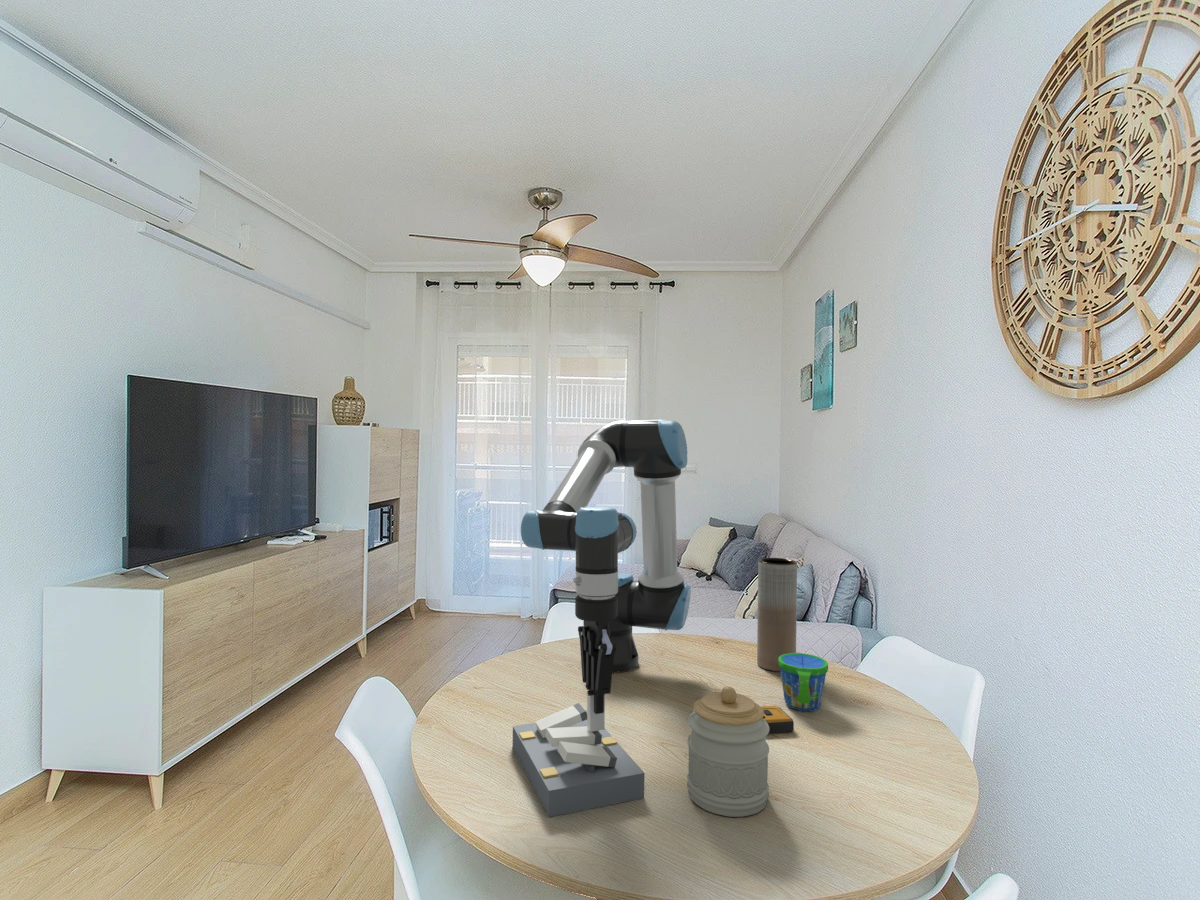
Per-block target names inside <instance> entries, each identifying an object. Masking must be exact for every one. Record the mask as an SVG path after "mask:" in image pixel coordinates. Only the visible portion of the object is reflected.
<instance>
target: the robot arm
mask: <svg viewBox="0 0 1200 900" xmlns="http://www.w3.org/2000/svg"><path fill="white" fill-rule="evenodd" d="M687 465H688V444H687V438H686V435H685V431H684V428H683V427H682V425H681V423H679V422H678V421H676V420H667V419H647V420H646V419H639V420H638V419H637V420H636V419H633V420H627V419H621V420H616V421H612V422H609V423H607V424H605V425H603V426H601V427H599V428H598V429H596V430H595V431H593V432H592V433H591V434H590V435H588V436H587V437H586V438H585V439H584V440H583V442H582V443H581V444H580V446H579V448H578V450H577V458H576V459H575V461H574V463H573V465H572V466H571V467H570V469H569V470H568V472H567V474H566V475H565V476H564V478H563V479H562V481H561V482H560V484H559V486H557V488H556V490H555V491H554V493H553V494H552V496H551V497H550V499H549V500H548V502H547V503H546V504H545V506H544V508H543V509H542V510H539V509H536V510H529V511H526V513H524V515H523V517H522V520H521V523H520V535H521V541H522V543H523V544H524V545H525V546H526V547H527V548H532V549H540V550H544V551H545V550H550V551H552V550H554V551H571V552H572V551H573V552H575V577H573V578H572V581H573V583H574V584H575V593H576V594H577V595H576V596H575V601H574V603H575V605H574V609H575V610H574V613H575V614H574V615H575V617H576V618H577V619H579V620H580V621H583V625H581V626H580V625H579V626H578V627H577V631H578V636H579V649H580V663H581V677H582V678H581V679H582V683H583V684H584V683H585V688H586V690H587V691H586V703H587V705H586V711H587V729H588V730H589V731H590V732H593V731H599V730H605V729H606V728H605V727H606V726H605V724H606V723H605V722H606V720H605V718H606V717H605V716H606V714H605V711H606V710H605V708H606V707H605V706H606V705H605V704H606V703H605V702H606V699H605V698H606V697H605V696H606V695H608V694H611V688H612V680H613V674H614V673H623V672H624V673H625V672H628V671H631V670H634V669H636V668H637V667H638V666H639V658H640V657H639V652H638V649H637V645H636V643H635V640H634V636H633V627H636V628H646V629H647V628H648V629H655V630H663V631H679V630H682V629H683V628H684V627H685V625H686V621H687V618H688V613H689V609H690V602H691V593H692V590H691V585H689V584H687V583H685V581H684V580H685V578H684V575H683V574H682V573H681V572H679V570H678V549H677V548H678V547H677V546H678V545H677V544H678V543H677V542H678V540H677V510H676V509H677V506H676V504H677V503H676V480H677V479H678V478H679V477H680V476H681V475H682V469H685V468H686V467H687ZM623 467H625V468H633V476H634V477H635V479H637V480H638V481H639V483H640V504H641V505H640V507H641V530H642V555H643V556H642V557H643V559H642V560H643V571H642V572H641V573H640V574H639V576H638V577H637V578H638V579H637V580H634V576H633V574H631V573H624V572H623V573H622V572H621V573H619V570H618V569H619V568H618V565H619V560H618V559H619V554H620V553H622V552H624V551H626V550H627V549H629V548H630V547H631V546H632V544H633V543H634V542H635V540H636V538H637V533H638V532H637V526H636V523H635V522H634V519H632V517H630V516H629V515H628V514H626V513H623V512H618V511H617V509H616V508H614V507H610V506H589V507H588V505H589V503H590V502H591V500H592V498H593V496H594V495H595V492H596V491H597V490H598V487H599V486H600V484H601V482H602V481H603V479H604V477H605V475H607V474H610V472H612V471H613V470H614V468H623Z"/></svg>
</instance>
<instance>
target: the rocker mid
mask: <svg viewBox="0 0 1200 900" xmlns="http://www.w3.org/2000/svg"><path fill="white" fill-rule="evenodd" d="M545 737H546V739H547V740H548V742H549V743H550V745H551V746H552V747H558V746H559V742H560V741H561V742H569V743H577V744H586V745H598V744H601V743H602V734H601V733H600V732H599V731H593V732H590V731H589V730H588V729H587V726H583V727H562V728H546V736H545Z"/></svg>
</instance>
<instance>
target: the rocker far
mask: <svg viewBox="0 0 1200 900" xmlns="http://www.w3.org/2000/svg"><path fill="white" fill-rule="evenodd" d="M584 720H587V709H585V707H584V706H583V705H582V704H581V703H580V702H578V703H576V704H573V705H570V706H568V707H566V708H564V709H561V710H559V711H556V712H554V713H552V714H550V715H547V716H545V717H542V718H541V719H538V720H536V721H535V722H534V723H536V727H537V730H538V732H539V733H540V735H541V736H542V738H545V736H546V728H562V727H570V726H573V725H575V724H577V723H579V722H582V721H584Z"/></svg>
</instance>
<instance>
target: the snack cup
mask: <svg viewBox="0 0 1200 900" xmlns="http://www.w3.org/2000/svg"><path fill="white" fill-rule="evenodd" d="M778 664H779V667H780V669H781V672H780V677H781V684H782V693H783V699H784V702H785V704H786V705H787V707H788V708H792V709H793V710H796V711H798V712H799V711H800V712H814V711H818V710H819V709H820V707H821V703H822V698H823V692H824V689H825V683H826V676H827V673H828V671H829V663H828V661H827V660H825V659H824V658H822V657H819V656H817V655H814V654H809V653H800V652H796V653H787V654H783V655H781V656H780V657H779V659H778Z"/></svg>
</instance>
